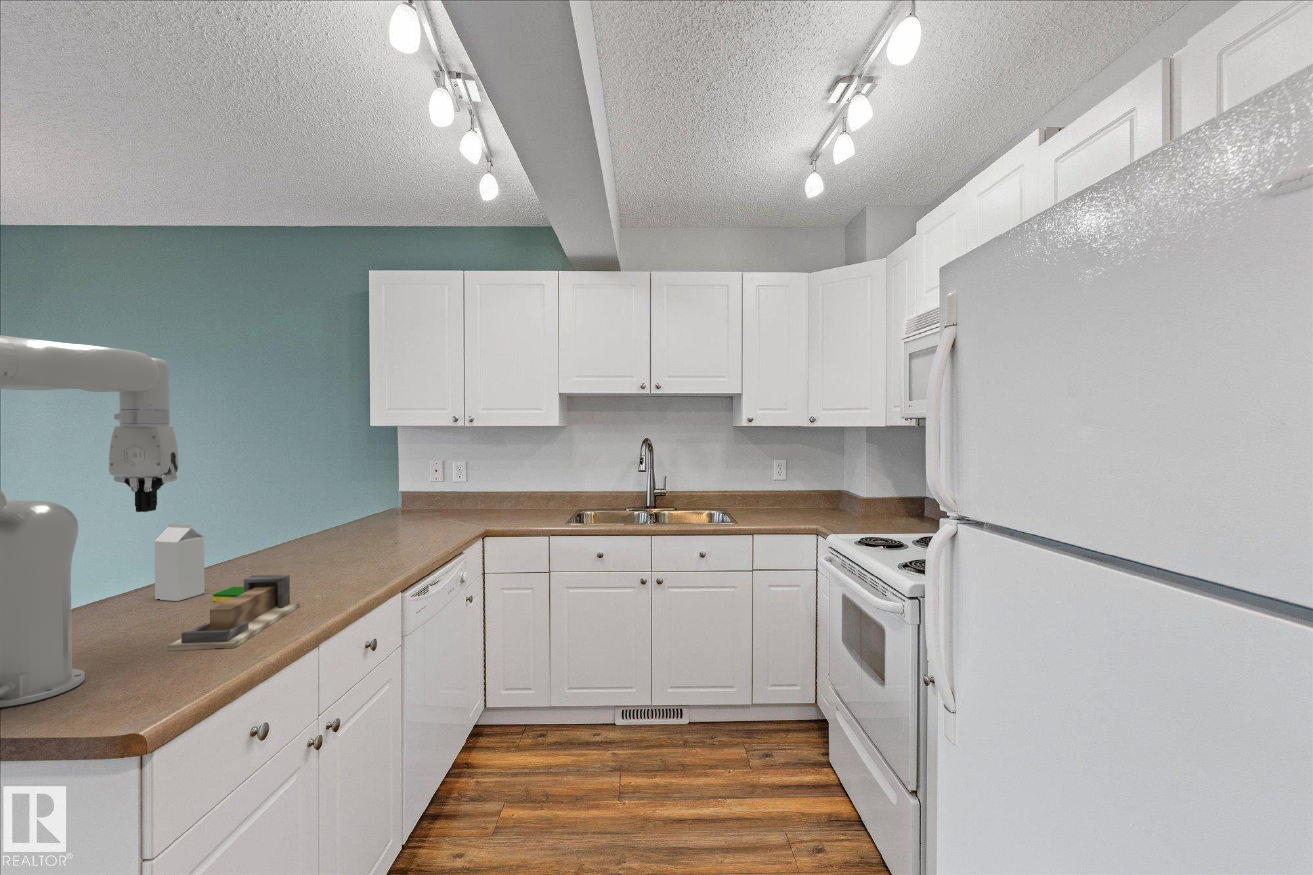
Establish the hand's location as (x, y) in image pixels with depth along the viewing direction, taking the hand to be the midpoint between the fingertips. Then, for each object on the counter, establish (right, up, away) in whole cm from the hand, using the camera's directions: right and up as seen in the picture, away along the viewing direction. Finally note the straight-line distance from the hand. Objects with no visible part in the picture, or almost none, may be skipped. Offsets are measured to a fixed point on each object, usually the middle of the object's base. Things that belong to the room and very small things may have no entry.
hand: (146, 510), depth 117 cm
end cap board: (+11, -27, +12) cm, 31 cm away
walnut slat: (+10, -26, +14) cm, 31 cm away
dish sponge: (-2, -27, +33) cm, 42 cm away
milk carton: (-20, -27, +33) cm, 47 cm away
